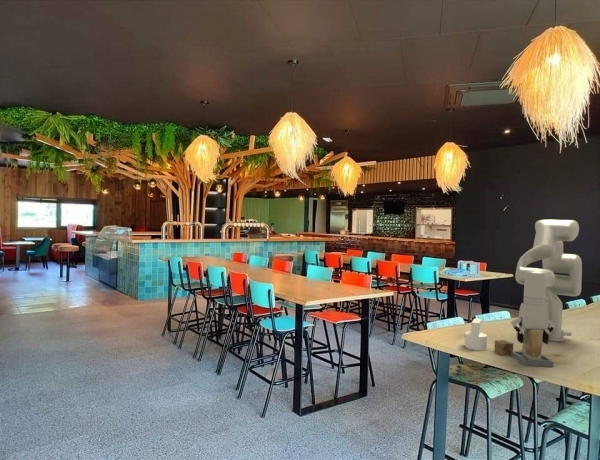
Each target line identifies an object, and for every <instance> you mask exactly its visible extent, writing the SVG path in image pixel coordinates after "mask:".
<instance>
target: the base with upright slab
mask: <svg viewBox="0 0 600 460" xmlns="http://www.w3.org/2000/svg"><path fill="white" fill-rule="evenodd" d="M482 320H483V319H481V318H473V320H472V321H471V329H470V331H469V330H468V331H465V332H464V333H465V335H464V337H465V338H464V347H465V348H466V347H467V349H469V350H472V349H473V351H478V350H479V351H487V348H488V334H486V333H484V332H482V324H483V321H482Z"/></svg>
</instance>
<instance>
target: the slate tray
mask: <svg viewBox="0 0 600 460" xmlns="http://www.w3.org/2000/svg"><path fill="white" fill-rule="evenodd" d="M522 351H523V350H521V351H517V350H513V351H511V355H510V357H511V358H513V359H514V360H515V361H517V362H519V363H520V364H522V365H523V366H525V365H529V366H528V367H545V368H546V367H547V368H553V367H554V361H553V360H552V359H551V358H549V357H547V356H545V355H543V354H542V353H541V360H529V359H528V358H526V357H524V356H523V355H522Z"/></svg>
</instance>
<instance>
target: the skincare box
mask: <svg viewBox="0 0 600 460" xmlns="http://www.w3.org/2000/svg"><path fill="white" fill-rule="evenodd" d="M523 334H524V340H523V343H522V350H521V351H522V355H523V356H524V357H526V358H528V359H529V360H541V354H542V351H543V350H542V349H543V342H542V338H543V331H541V330H536V329H525V330H524V332H523Z"/></svg>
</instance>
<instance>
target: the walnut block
mask: <svg viewBox="0 0 600 460" xmlns="http://www.w3.org/2000/svg"><path fill="white" fill-rule="evenodd" d="M511 351H514V343H513V342H510V341H507V340H506V339H502V340H498V339H497V340H494V351H493V352H494V353H497V354H499V355H501V356H502V357H504V356H511Z"/></svg>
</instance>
